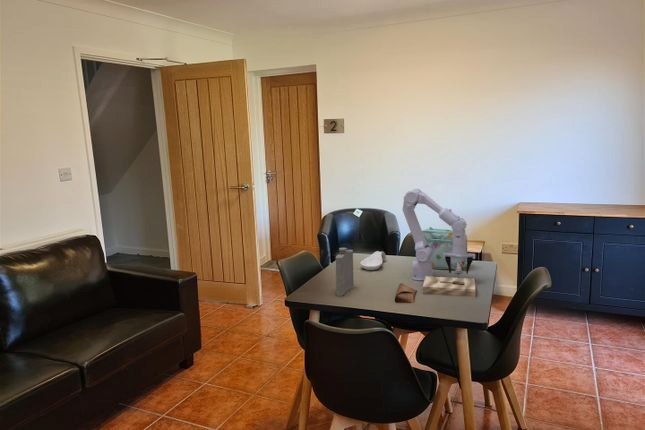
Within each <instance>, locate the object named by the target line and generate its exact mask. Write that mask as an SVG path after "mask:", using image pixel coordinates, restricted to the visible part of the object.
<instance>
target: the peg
mask: <svg viewBox="0 0 645 430" xmlns="http://www.w3.org/2000/svg"><path fill="white" fill-rule="evenodd" d="M454 272H455V275H456V278H461V275H462V274H463V268H462V263H459V262H457V263H455V271H454Z"/></svg>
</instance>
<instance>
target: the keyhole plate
mask: <svg viewBox="0 0 645 430" xmlns="http://www.w3.org/2000/svg"><path fill="white" fill-rule="evenodd" d="M422 285H423V286H422V294H425V295H438V296H439V295H442V296H456V297H457V296H459V297H474V298H475V297H476V280H475V278H469V277H467V278H465V277H460V278H457V277H447V276H445V277H444V276H433V277H430V276H426V277H425V280H423V283H422Z"/></svg>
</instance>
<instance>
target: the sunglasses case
mask: <svg viewBox="0 0 645 430" xmlns="http://www.w3.org/2000/svg"><path fill="white" fill-rule="evenodd" d="M417 292H418V291H417V289H415V288H413V287H411V286H407V284H405V283H402V282H401V283H400V284H399V285H398V287H397V290H396V293H395V296H394V303H396V304H413V303H414V304H415V296H416V293H417Z"/></svg>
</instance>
